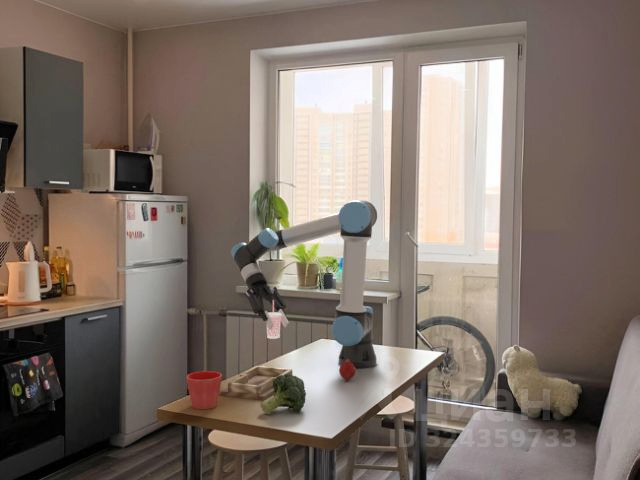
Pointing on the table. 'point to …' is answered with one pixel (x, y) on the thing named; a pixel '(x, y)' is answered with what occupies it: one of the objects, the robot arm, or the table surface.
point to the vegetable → (286, 394)
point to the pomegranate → (347, 370)
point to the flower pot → (204, 389)
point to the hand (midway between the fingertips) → (279, 326)
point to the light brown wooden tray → (255, 383)
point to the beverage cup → (275, 330)
